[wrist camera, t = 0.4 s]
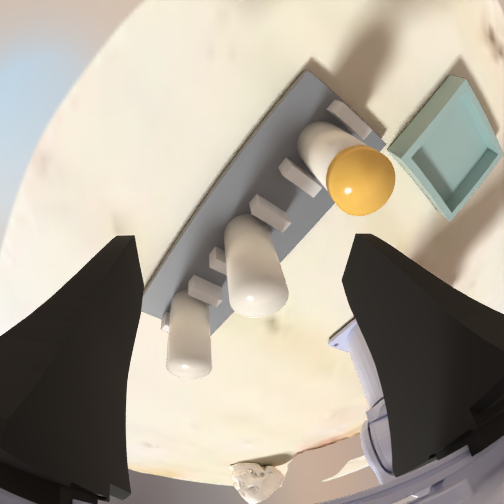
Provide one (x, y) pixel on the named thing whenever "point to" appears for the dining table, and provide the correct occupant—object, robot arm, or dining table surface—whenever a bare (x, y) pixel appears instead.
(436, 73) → the dining table surface
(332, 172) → the cylinder
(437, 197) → the tray
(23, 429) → the robot arm
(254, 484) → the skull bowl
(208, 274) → the fuse panel
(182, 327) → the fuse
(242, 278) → the fuse middle
